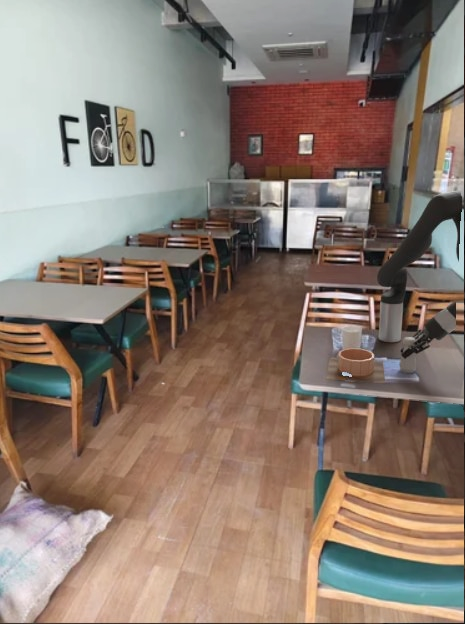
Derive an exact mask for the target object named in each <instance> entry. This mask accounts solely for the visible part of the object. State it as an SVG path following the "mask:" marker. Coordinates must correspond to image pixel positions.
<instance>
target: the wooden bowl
mask: <svg viewBox="0 0 465 624" xmlns="http://www.w3.org/2000/svg"><path fill="white" fill-rule="evenodd" d="M337 358H338V370H339V371H340V372H341V373H342V372H347V373H349V374H351V375H352V376H354V377H363V376H368V375H371V374H372V373H373V370H374V361H375V354H374V353H373V352H372V351H370V350H367V349H363V348H360V349H358V348H350V349H343V348H342V349H341V350H339V351H338V357H337Z"/></svg>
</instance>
